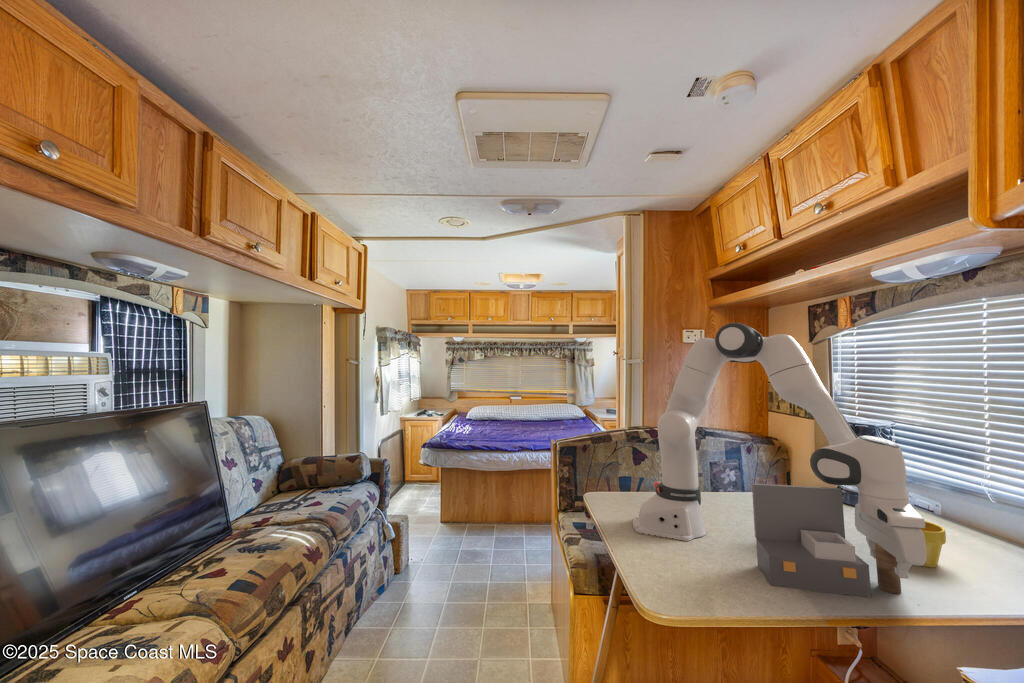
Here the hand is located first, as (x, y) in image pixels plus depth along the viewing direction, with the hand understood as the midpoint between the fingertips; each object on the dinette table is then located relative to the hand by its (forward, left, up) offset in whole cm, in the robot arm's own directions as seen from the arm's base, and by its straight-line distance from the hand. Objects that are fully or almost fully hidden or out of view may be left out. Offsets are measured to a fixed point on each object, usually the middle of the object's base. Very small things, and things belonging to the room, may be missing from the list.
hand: (888, 566), depth 94 cm
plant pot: (+16, +18, -5) cm, 24 cm away
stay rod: (0, 0, -5) cm, 5 cm away
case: (-16, 0, -5) cm, 17 cm away
